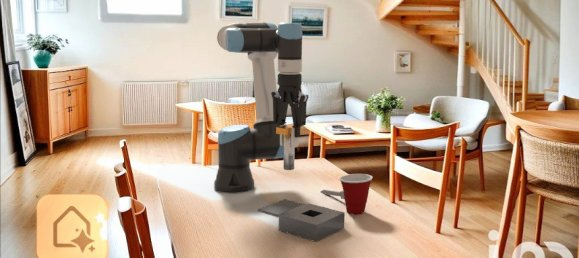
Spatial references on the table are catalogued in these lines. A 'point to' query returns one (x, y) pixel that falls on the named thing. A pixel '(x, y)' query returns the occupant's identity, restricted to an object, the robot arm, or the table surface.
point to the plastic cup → (355, 192)
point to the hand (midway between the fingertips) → (289, 145)
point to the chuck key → (287, 146)
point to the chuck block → (311, 222)
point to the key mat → (279, 207)
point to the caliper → (334, 193)
